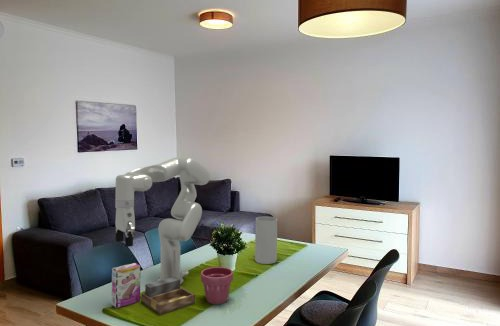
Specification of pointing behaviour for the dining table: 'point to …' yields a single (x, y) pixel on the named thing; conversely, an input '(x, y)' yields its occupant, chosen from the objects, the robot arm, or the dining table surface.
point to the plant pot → (216, 283)
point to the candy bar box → (125, 285)
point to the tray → (166, 296)
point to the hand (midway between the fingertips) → (124, 243)
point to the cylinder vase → (266, 240)
